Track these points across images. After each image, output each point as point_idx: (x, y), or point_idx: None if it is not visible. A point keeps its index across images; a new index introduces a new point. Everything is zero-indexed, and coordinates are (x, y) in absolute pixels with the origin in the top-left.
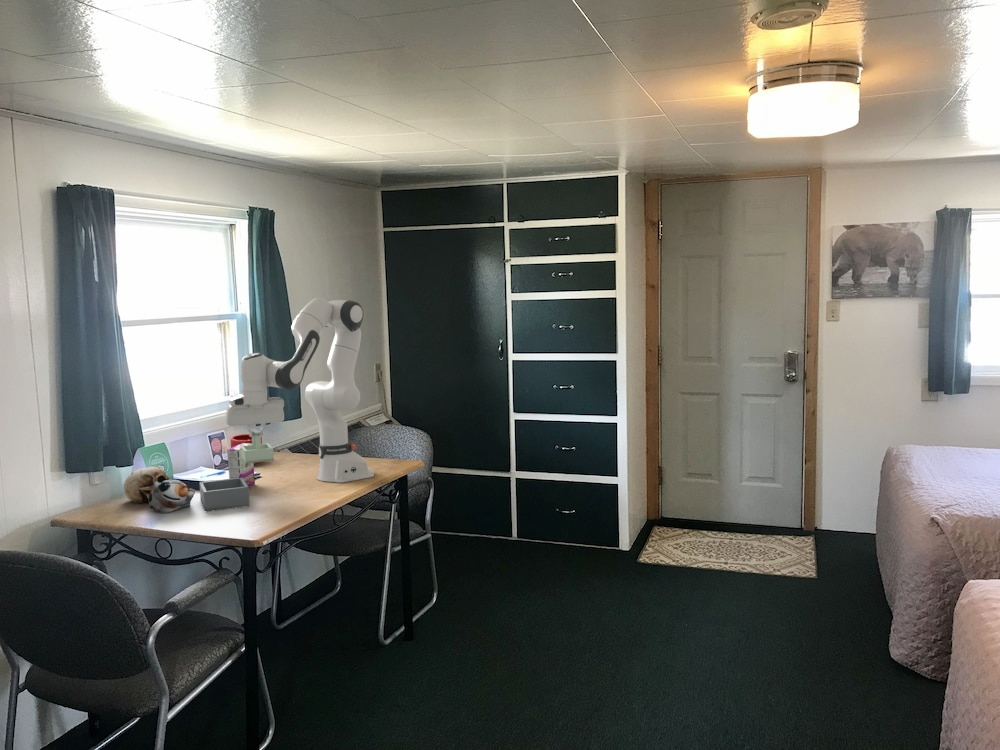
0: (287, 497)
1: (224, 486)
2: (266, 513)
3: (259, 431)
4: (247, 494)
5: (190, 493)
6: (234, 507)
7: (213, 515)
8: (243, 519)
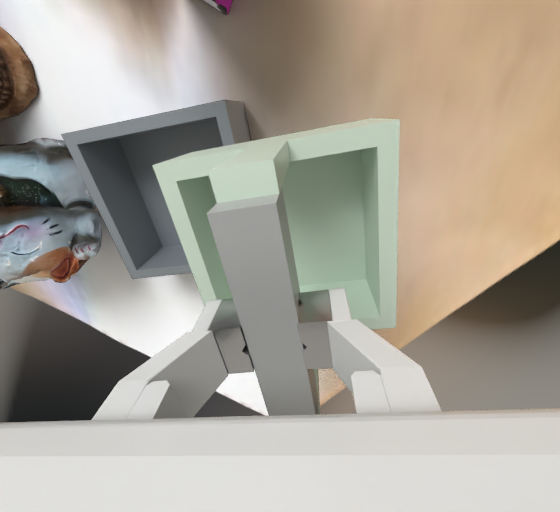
0: None
1: (166, 127)
2: None
3: (315, 366)
4: None
5: (91, 257)
6: None
7: (191, 285)
8: None
